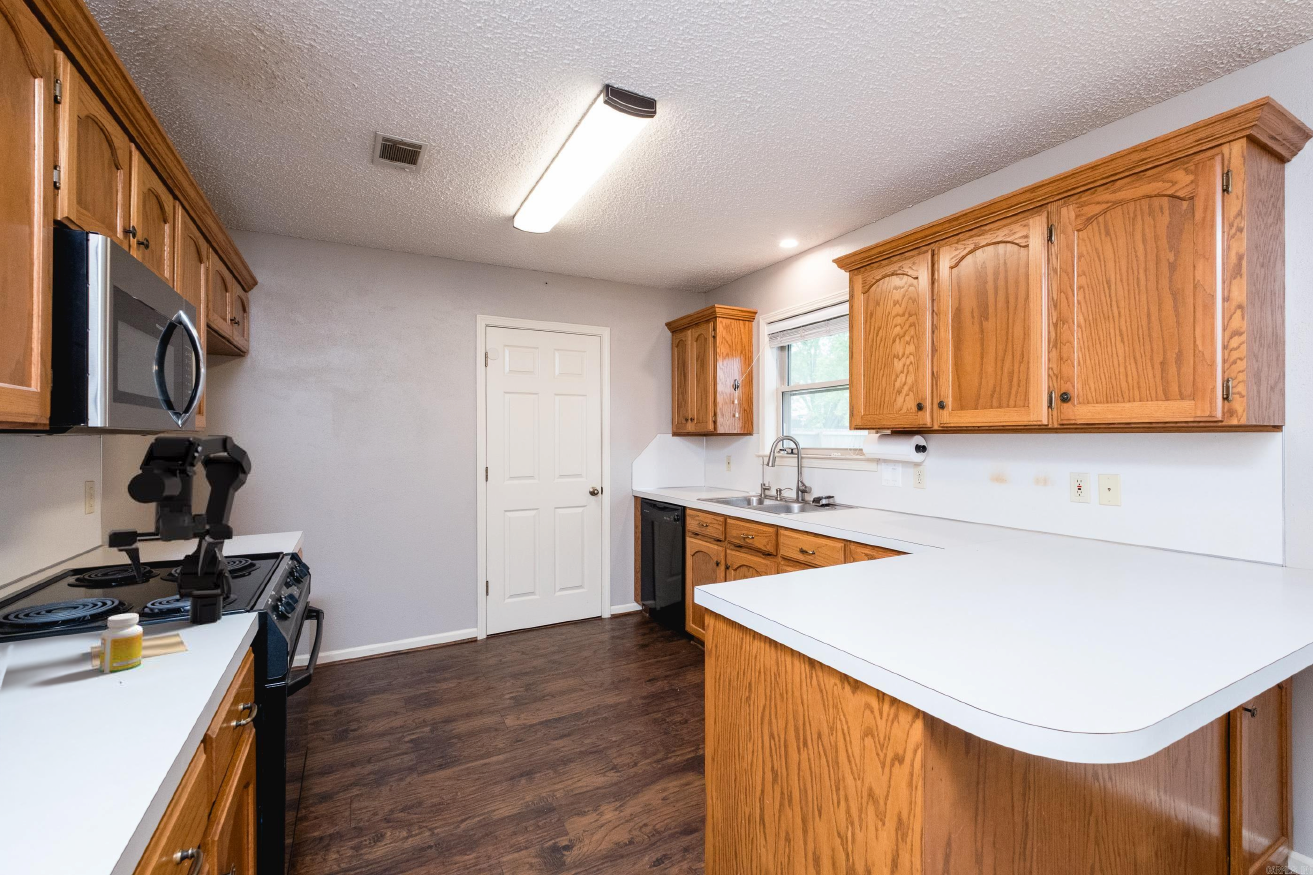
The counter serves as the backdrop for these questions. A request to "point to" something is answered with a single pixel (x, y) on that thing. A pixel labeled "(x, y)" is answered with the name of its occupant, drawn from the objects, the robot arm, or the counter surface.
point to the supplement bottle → (121, 644)
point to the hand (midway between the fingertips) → (170, 578)
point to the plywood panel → (150, 647)
